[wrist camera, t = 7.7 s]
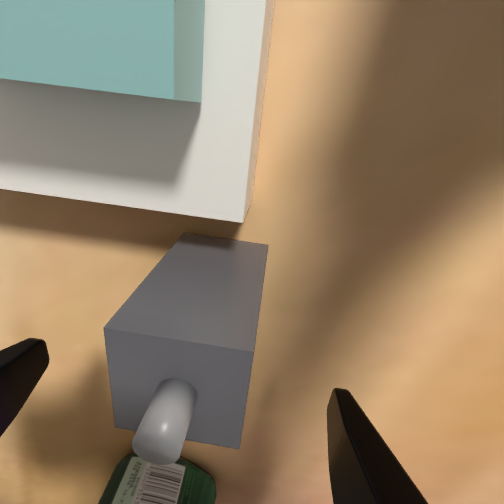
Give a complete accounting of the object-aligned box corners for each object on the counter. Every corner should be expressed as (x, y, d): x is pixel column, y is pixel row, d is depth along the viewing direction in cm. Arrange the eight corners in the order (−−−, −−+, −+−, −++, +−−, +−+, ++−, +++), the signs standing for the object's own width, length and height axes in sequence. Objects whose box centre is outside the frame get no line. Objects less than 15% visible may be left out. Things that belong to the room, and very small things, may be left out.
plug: (268, 244, 14) (246, 406, 6) (258, 314, 16) (230, 509, 8) (184, 232, 14) (63, 375, 7) (182, 303, 16) (85, 482, 8)
